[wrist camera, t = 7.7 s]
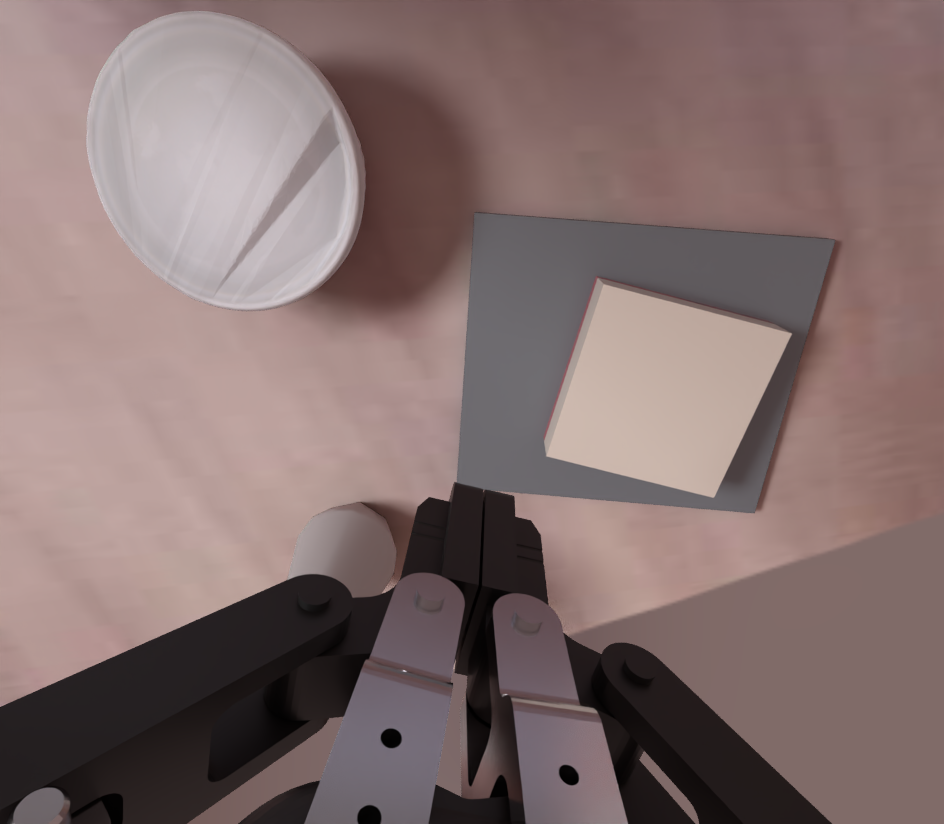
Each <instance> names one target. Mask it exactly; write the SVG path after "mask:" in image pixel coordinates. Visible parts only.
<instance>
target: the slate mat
mask: <svg viewBox="0 0 944 824" xmlns="http://www.w3.org/2000/svg"><path fill="white" fill-rule="evenodd" d="M834 243H835V240H834V239H828V238H814V237H801V236H787V235H774V234H761V233H747V232H734V231H721V230H707V229H694V228H681V227H667V226H654V225H640V224H627V223H614V222H600V221H587V220H574V219H560V218H547V217H534V216H520V215H507V214H493V213H480V212H475V214H474V229H473V244H472V260H471V275H470V290H469V305H468V321H467V336H466V351H465V366H464V382H463V397H462V412H461V427H460V442H459V458H458V473H457V483H460V484H465V485H469V486H473V487H478V488H482V489H483V490H485V489H487V490H493V491H504V492H515V493H527V494H538V495H550V496H561V497H573V498H584V499H596V500H607V501H619V502H630V503H642V504H653V505H665V506H676V507H688V508H699V509H711V510H722V511H734V512H745V513H755V510H756V506H757V503H758V500H759V496H760V493H761V490H762V486H763V483H764V479H765V476H766V473H767V469H768V466H769V463H770V459H771V456H772V452H773V449H774V446H775V442H776V439H777V436H778V432H779V429H780V425H781V422H782V419H783V415H784V412H785V409H786V405H787V402H788V398H789V395H790V392H791V388H792V385H793V382H794V378H795V375H796V371H797V368H798V365H799V361H800V358H801V355H802V351H803V348H804V344H805V341H806V338H807V334H808V331H809V328H810V324H811V321H812V317H813V314H814V311H815V307H816V304H817V301H818V297H819V294H820V290H821V287H822V284H823V280H824V277H825V274H826V270H827V267H828V263H829V260H830V257H831V253H832V250H833V247H834ZM596 276H599V277H603V278H607V279H610V280H614V281H618V282H622V283H626V284H629V285H633V286H637V287H641V288H645V289H648V290H652V291H656V292H660V293H664V294H668V295H671V296H675V297H679V298H683V299H687V300H690V301H694V302H698V303H702V304H706V305H709V306H713V307H717V308H721V309H725V310H729V311H732V312H736V313H740V314H744V315H748V316H751V317H755V318H759V319H763V320H767V321H770V322H772V323H774V324H776V325H777V326H779V327H781V328H783V329H785V330H787V331H788V332H790V333H792V335H791V337H790V339H789V341H788V343H787V345H786V347H785V349H784V352H783V354H782V356H781V358H780V360H779V362H778V364H777V366H776V368H775V370H774V373H773V375H772V377H771V379H770V381H769V383H768V385H767V387H766V389H765V392H764V394H763V396H762V398H761V400H760V402H759V404H758V406H757V408H756V410H755V413H754V415H753V417H752V419H751V421H750V423H749V425H748V427H747V429H746V431H745V434H744V436H743V438H742V440H741V442H740V444H739V446H738V448H737V450H736V453H735V455H734V457H733V459H732V461H731V463H730V465H729V467H728V469H727V471H726V474H725V476H724V478H723V480H722V482H721V484H720V486H719V488H718V490H717V492H716V495H715V497H714V498H712V497H708V496H704V495H700V494H696V493H692V492H688V491H684V490H680V489H676V488H672V487H668V486H664V485H660V484H656V483H652V482H648V481H644V480H640V479H636V478H632V477H628V476H624V475H620V474H615V473H611V472H607V471H603V470H599V469H595V468H591V467H587V466H583V465H579V464H575V463H571V462H567V461H563V460H559V459H555V458H551V457H547V456H546V451H545V444H544V434H545V431H546V428H547V424H548V421H549V418H550V415H551V412H552V409H553V406H554V403H555V400H556V397H557V394H558V391H559V388H560V385H561V382H562V379H563V375H564V372H565V369H566V366H567V363H568V360H569V357H570V354H571V351H572V348H573V345H574V342H575V339H576V336H577V333H578V329H579V326H580V323H581V320H582V317H583V314H584V311H585V308H586V305H587V302H588V299H589V296H590V293H591V290H592V287H593V283H594V280H595V277H596Z"/></svg>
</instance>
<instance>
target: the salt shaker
mask: <svg viewBox="0 0 944 824" xmlns="http://www.w3.org/2000/svg"><path fill="white" fill-rule="evenodd" d="M396 553H397V549H396V547H395V544H394V541H393V538H392V535H391V532H390V529H389V527H388V524H387V522H386V520H385V518H384V517H382V516H381V515H379V514H378V513H376V512H375V511H373V510H372V509H370V508H368V507H367V506H365V505H364V504H362V503H361V502H357V503H352V504H348V505H343V506H338V507H333V508H330V509H328V510H326V511H324V512H322V513H320V514H318V515H316V516H313V518H312V519H311V520H310V521H309V522H308V524H307V525H306V526H305V528H304V529H303V530H302V532H301V533H300V534H299V536H298V539H297V543H296V547H295V551H294V555H293V559H292V563H291V567H290V571H289V575H288V579H287V580H289V579H291V578H293V577H296V576H300V575H305V574H321V575H326V576H330V577H332V578H335V579H337V580H338V581H340V582H342V583H343V584H344V585H345V586H346V587H347V588H348V589H349V591H350V592H351V595H352V598H354V597H372V596H377V595H380V594H382V592H383V591H384V589H385V587H386V586H387V584H388V582H389V581H390V579H391V577H392V576H393V574H394V569H395V562H396Z"/></svg>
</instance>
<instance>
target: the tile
mask: <svg viewBox="0 0 944 824" xmlns="http://www.w3.org/2000/svg"><path fill="white" fill-rule="evenodd" d="M791 335H792V333H790V332H788V331H787V330H785V329H783V328H781V327H779V326H777V325H776V324H774V323H772V322H770V321H767V320H763V319H759V318H755V317H751V316H748V315H744V314H740V313H736V312H732V311H729V310H725V309H721V308H717V307H713V306H709V305H706V304H702V303H698V302H694V301H690V300H687V299H683V298H679V297H675V296H671V295H668V294H664V293H660V292H656V291H652V290H648V289H645V288H641V287H637V286H633V285H629V284H626V283H622V282H618V281H614V280H610V279H607V278H603V277H599V276H596V277H595V280H594V283H593V287H592V290H591V293H590V296H589V299H588V302H587V305H586V308H585V311H584V314H583V317H582V320H581V323H580V326H579V329H578V333H577V336H576V339H575V342H574V345H573V348H572V351H571V354H570V357H569V360H568V363H567V366H566V369H565V372H564V375H563V379H562V382H561V385H560V388H559V391H558V394H557V397H556V400H555V403H554V406H553V409H552V412H551V415H550V418H549V421H548V424H547V428H546V431H545V434H544V444H545V451H546V456H547V457H551V458H555V459H559V460H563V461H567V462H571V463H575V464H579V465H583V466H587V467H591V468H595V469H599V470H603V471H607V472H611V473H615V474H620V475H624V476H628V477H632V478H636V479H640V480H644V481H648V482H652V483H656V484H660V485H664V486H668V487H672V488H676V489H680V490H684V491H688V492H692V493H696V494H700V495H704V496H708V497H712V498H714V497H715V495H716V492H717V490H718V488H719V486H720V484H721V482H722V480H723V478H724V476H725V474H726V471H727V469H728V467H729V465H730V463H731V461H732V459H733V457H734V455H735V453H736V450H737V448H738V446H739V444H740V442H741V440H742V438H743V436H744V434H745V431H746V429H747V427H748V425H749V423H750V421H751V419H752V417H753V415H754V413H755V410H756V408H757V406H758V404H759V402H760V400H761V398H762V396H763V394H764V392H765V389H766V387H767V385H768V383H769V381H770V379H771V377H772V375H773V373H774V370H775V368H776V366H777V364H778V362H779V360H780V358H781V356H782V354H783V352H784V349H785V347H786V345H787V343H788V341H789V339H790V337H791Z"/></svg>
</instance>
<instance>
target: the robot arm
mask: <svg viewBox="0 0 944 824" xmlns="http://www.w3.org/2000/svg"><path fill="white" fill-rule="evenodd" d="M455 660H456V664H455V673H457V674H462V675H467V676H468V677H467V689H466V692H465V695H464V698H463V701H462V704H461V709H460V723H461V726H460V727H461V728H460V732H461V797H460V796H458V795H456V794H454V793H452V792H450V791H448V790H446V789H444V788H442V787H440V786H438V785H436V779H437V774H438V768H439V762H440V757H441V751H442V745H443V739H444V735H445V728H446V723H447V718H448V712H449V707H450V701H451V696H452V689H453V683H451V676H452V672H453V666H454V663H455ZM334 717H344V718H343V722H342V724H341V726H340V729H339V732H338V734H337V737H336V740H335V742H334V745H333V748H332V751H331V753H330V756H329V759H328V761H327V764H326V767H325V770H324V772H323V775H322V777H321V780H320V781H316V782H311V783H308V784H305V785H302V786H299V787H296V788H293V789H291V790H289V791H286V792H284V793H282V794H280V795H278V796H276V797H274V798H273V799H271V800H270V801H268V802H266V803H265V804H263V805H262V806H260V807H259V808H258V809H256V810H255V811H253V812H252V813H251V814H250V815H248V816H247V817H246V818H245V819H243V820H242V821H241V822H240V823H238V824H695V823H694V822H693V821H692V820H691V818H690V817H689V816H688V815H687V814H686V813H685V812H684V810H683V809H682V808H681V807H680V806H679V805H678V804H677V802H676V801H675V800H674V799H673V798H672V797H671V796H670V795H669V793H668V792H667V791H666V790H665V789H664V788H663V787H662V785H661V784H660V783H659V782H658V781H657V780H656V779H655V777H654V776H653V775H652V774H651V773H650V772H649V771H648V769H647V768H646V767H645V766H644V765H643V764H642V763H641V762H640V760H639V759H640V757H641V756H642V754H643V752H644V751H645V752H646V753H647V754H648V755H649V756H650V757H651V759H652V760H653V761H654V762H655V763H656V764H657V765H658V766H659V767H660V768H661V770H662V771H663V772H664V773H665V774H666V775H667V776H668V777H669V779H671V781H672V782H673V783H674V784H675V785H676V786H677V788H678V789H679V790H680V791H681V792H682V793H683V794H684V795H685V796H686V797H687V799H688V800H689V801H690V802H691V804H692V805H693V807H694V809H695V811H696V813H697V816H698V819H699V824H832V823H831V822H830V821H828V820H827V819H826V818H825V817H824V816H823V815H822V814H821V813H820V812H819V811H818V810H817V809H816V808H815V807H814V806H813V805H812V804H811V803H810V802H809V801H808V800H806V799H805V798H804V797H803V796H802V795H801V794H800V793H799V792H798V791H797V790H796V789H795V788H794V787H793V786H792V785H791V784H789V782H788V781H787V780H785V779H784V778H783V777H782V776H781V775H780V774H779V773H778V772H777V771H776V770H775V769H774V768H773V767H772V766H771V765H770V764H769V763H768V762H767V761H765V760H764V759H763V758H762V757H761V756H760V755H759V754H758V753H757V752H756V751H755V750H754V749H753V748H752V747H751V746H750V745H749V744H748V743H747V742H745V741H744V740H743V739H742V738H741V737H740V736H739V735H738V734H737V733H736V732H735V731H734V730H733V729H732V728H731V727H730V726H728V725H727V724H726V723H725V722H724V721H723V720H722V719H721V718H720V717H719V716H718V715H717V714H716V713H715V712H714V711H713V710H712V709H711V708H710V707H709V706H708V705H707V704H705V703H704V702H703V701H702V700H701V699H700V698H699V697H698V696H697V695H696V694H695V693H694V692H693V691H692V690H691V689H690V688H689V687H688V686H687V685H686V684H684V683H683V682H682V681H681V680H680V679H679V678H678V677H677V676H676V675H675V674H674V673H673V672H672V671H671V670H670V669H669V668H668V667H666V666H665V665H664V664H663V663H662V662H661V661H660V660H659V659H658V658H657V657H656V656H654V655H653V654H651V653H650V652H648V651H646V650H645V649H643V648H641V647H639V646H636V645H633V644H629V643H614V644H611V645H609V646H608V647H606V648H605V649H604V651H603V653H602V654H600V653H598V652H596V651H594V650H591V649H589V648H587V647H585V646H583V645H581V644H579V643H577V642H576V641H574V640H572V639H571V638H569V637H568V636H567V635H566V634H564V633H563V629H562V625H561V622H560V619H559V617H558V616H557V614H556V613H555V611H554V610H553V609H552V608H551V607H550V606H548V597H547V588H546V579H545V570H544V564H543V553H542V544H541V535H540V533H539V532H538V530H537V529H536V527H535V526H534V524H533V523H532V521H531V520H527V519H522V518H518V517H515V500H514V496H512V495H508V494H504V493H499V492H495V491H491V490H487V489H485V490H484V492H483V489H482V488H478V487H473V486H469V485H465V484H460V483H456V482H454V484H453V488H452V491H451V495H450V499H449V502H448V501H444V500H439V499H435V498H431V497H429V498H428V499H426V500H425V501H424V502H423V503H422V504H421V505H420V506H418V508H417V512H416V516H415V521H414V525H413V529H412V533H411V537H410V541H409V546H408V550H407V554H406V558H405V562H404V566H403V571H402V575H401V578H400V580H399V582H398V583H397V585H396V586H395V587H394V588H392V589H391V590H389V591H388V592H386V593H383V594H380V595H377V596H372V597H354V598H352V595H351V592H350V591H349V589H348V588H347V587H346V586H345V585H344V584H343V583H342V582H340V581H338V580H337V579H335V578H332V577H330V576H326V575H321V574H305V575H300V576H296V577H293V578H291V579H289V580H286V581H284V582H282V583H280V584H277V585H275V586H273V587H271V588H268V589H266V590H264V591H262V592H259V593H257V594H255V595H252V596H250V597H248V598H246V599H243V600H241V601H239V602H237V603H234V604H232V605H230V606H228V607H225V608H223V609H221V610H219V611H216V612H214V613H212V614H210V615H207V616H205V617H203V618H200V619H198V620H196V621H194V622H191V623H189V624H187V625H185V626H182V627H180V628H178V629H176V630H173V631H171V632H169V633H167V634H164V635H162V636H160V637H158V638H155V639H153V640H151V641H148V642H146V643H144V644H142V645H139V646H137V647H135V648H133V649H130V650H128V651H126V652H124V653H121V654H119V655H117V656H115V657H112V658H110V659H108V660H106V661H103V662H101V663H99V664H96V665H94V666H92V667H90V668H87V669H85V670H83V671H81V672H78V673H76V674H74V675H72V676H69V677H67V678H65V679H63V680H60V681H58V682H56V683H54V684H51V685H49V686H47V687H44V688H42V689H40V690H38V691H35V692H33V693H31V694H29V695H26V696H24V697H22V698H20V699H17V700H15V701H13V702H11V703H8V704H6V705H4V706H1V707H0V824H187V823H188V822H189V821H191V820H193V819H194V818H195V817H196V816H198V815H200V814H201V813H202V812H204V811H205V810H206V809H208V808H209V807H211V806H212V805H214V804H215V803H217V802H218V801H220V800H221V799H222V798H224V797H225V796H227V795H228V794H230V793H231V792H232V791H234V790H235V789H237V788H238V787H240V786H241V785H242V784H244V783H245V782H247V781H248V780H249V779H251V778H252V777H254V776H255V775H257V774H258V773H260V772H261V771H262V770H264V769H265V768H267V767H268V766H269V765H271V764H272V763H274V762H275V761H277V760H278V759H279V758H281V757H282V756H284V755H285V754H287V753H288V752H290V751H291V750H292V749H294V748H295V747H297V746H298V745H300V744H301V743H302V742H304V741H305V740H307V739H308V738H309V737H311V736H312V735H314V734H315V733H317V732H318V731H319V730H320V729H322V727H323V726H324V725H325V724H326V723H327V721H328V719H329V718H334Z"/></svg>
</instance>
